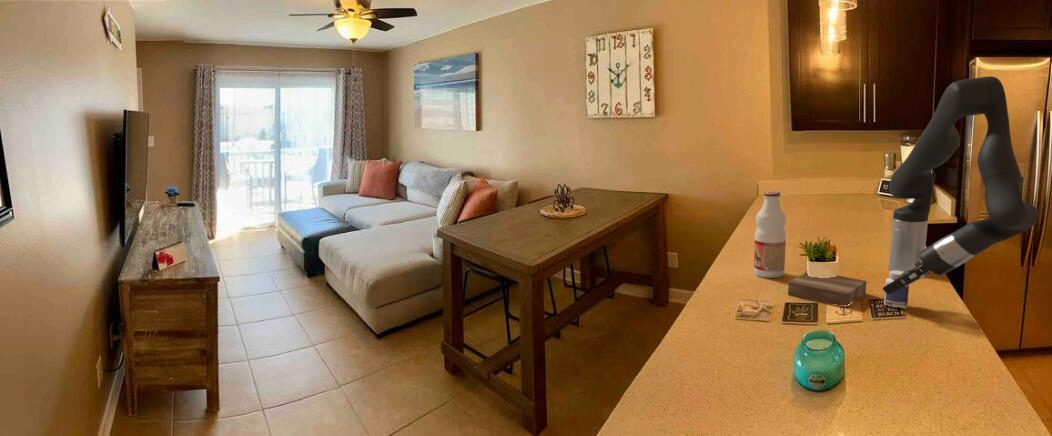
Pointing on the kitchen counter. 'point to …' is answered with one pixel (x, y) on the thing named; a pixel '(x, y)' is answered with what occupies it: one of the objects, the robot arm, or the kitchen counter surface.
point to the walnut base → (827, 289)
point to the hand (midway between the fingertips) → (889, 288)
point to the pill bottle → (896, 292)
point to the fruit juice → (770, 238)
